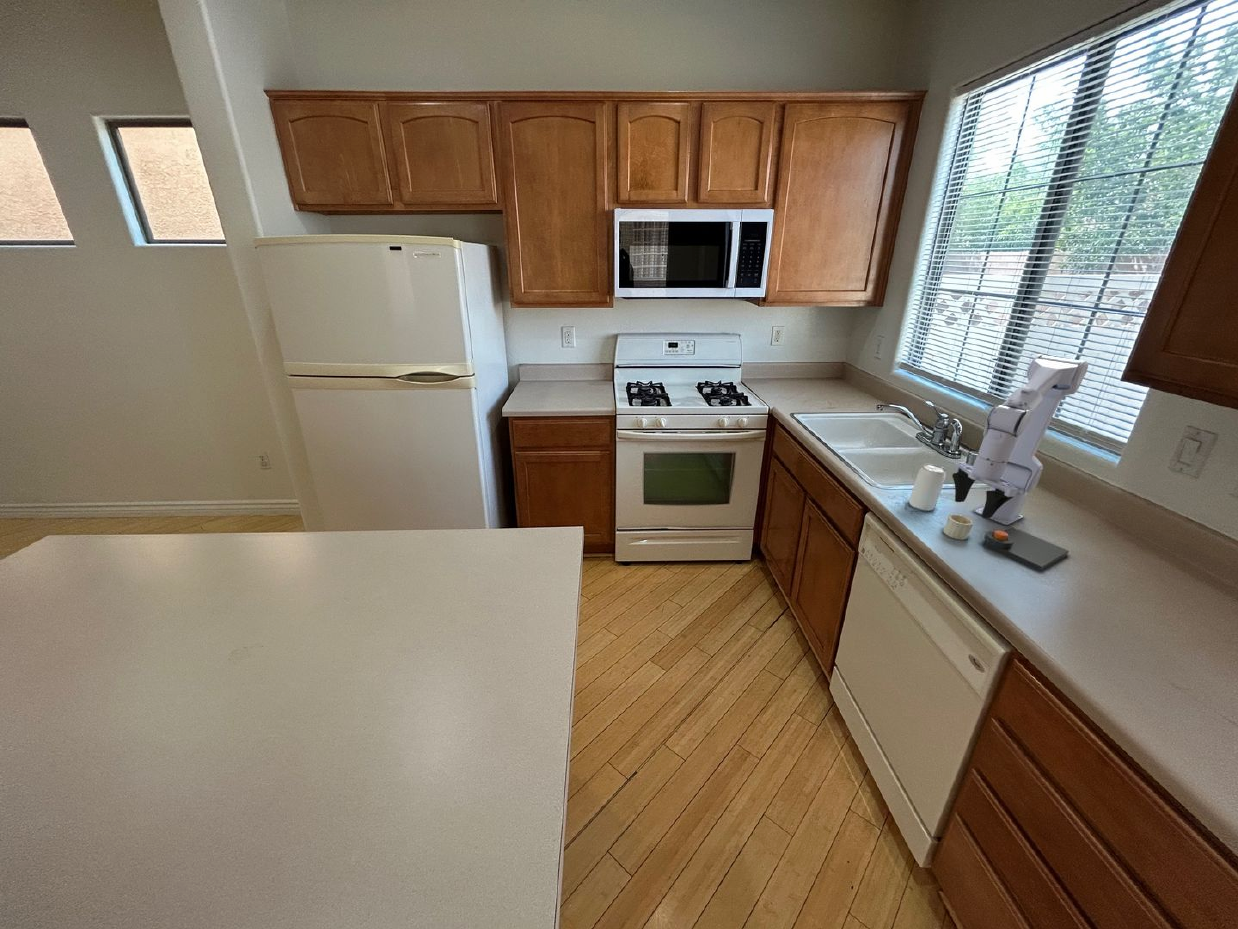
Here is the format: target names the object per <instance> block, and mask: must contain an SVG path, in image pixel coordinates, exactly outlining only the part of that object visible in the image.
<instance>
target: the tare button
mask: <svg viewBox="0 0 1238 929" xmlns="http://www.w3.org/2000/svg"><path fill="white" fill-rule="evenodd" d="M994 531H995V532H994V535H993V537H994V538H996V539H999V540H1003V541H1006V539H1007V537H1008V534H1007V533H1006V532H1004V531H1005V530H1000V529H996V530H994Z"/></svg>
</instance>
